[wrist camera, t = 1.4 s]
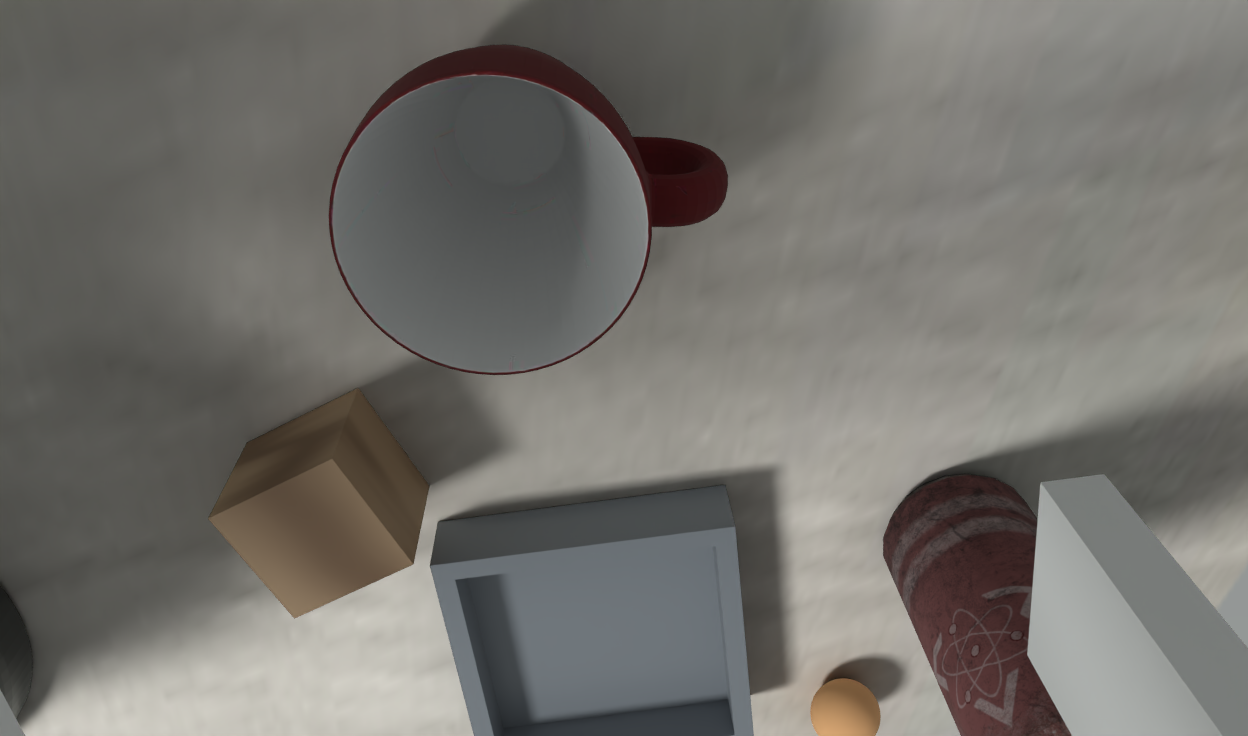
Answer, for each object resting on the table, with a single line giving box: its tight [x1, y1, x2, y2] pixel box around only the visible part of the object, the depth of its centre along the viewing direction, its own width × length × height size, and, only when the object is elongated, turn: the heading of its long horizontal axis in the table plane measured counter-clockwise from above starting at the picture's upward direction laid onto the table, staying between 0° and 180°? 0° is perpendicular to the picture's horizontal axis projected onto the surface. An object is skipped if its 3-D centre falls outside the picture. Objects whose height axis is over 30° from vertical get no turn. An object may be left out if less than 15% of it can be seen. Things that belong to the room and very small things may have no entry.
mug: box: [329, 45, 728, 375], centre depth 31 cm, size 10×8×10 cm
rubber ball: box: [811, 678, 880, 736], centre depth 46 cm, size 3×3×3 cm
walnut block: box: [208, 388, 429, 618], centre depth 39 cm, size 5×5×5 cm
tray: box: [430, 485, 754, 736], centre depth 43 cm, size 12×12×3 cm
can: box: [883, 474, 1072, 736], centre depth 37 cm, size 6×6×14 cm
